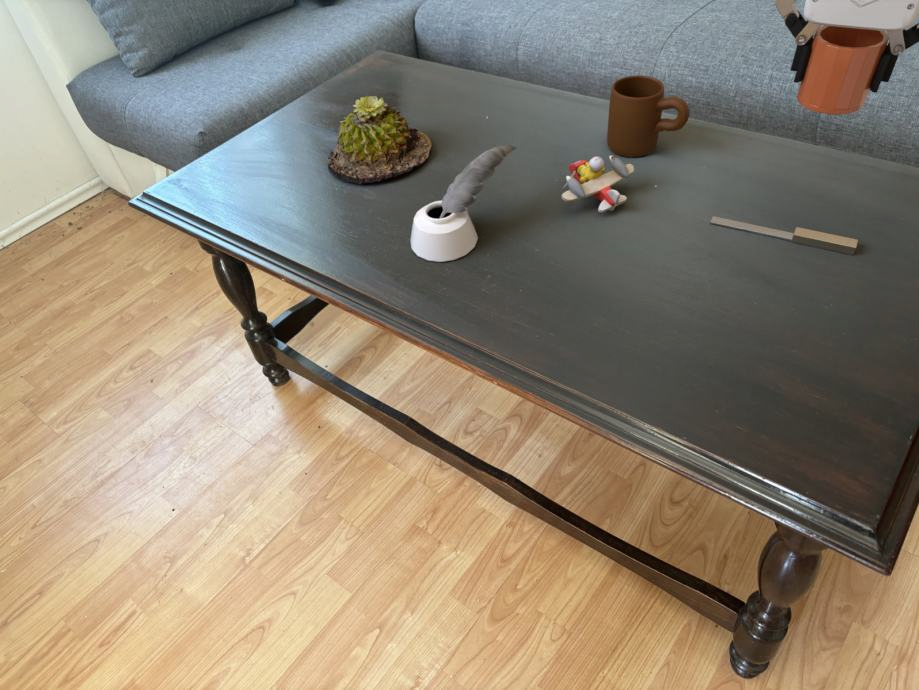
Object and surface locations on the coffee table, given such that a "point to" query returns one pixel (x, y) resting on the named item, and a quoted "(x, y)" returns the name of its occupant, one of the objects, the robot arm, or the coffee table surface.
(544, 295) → the coffee table surface
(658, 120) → the mug
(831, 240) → the knife
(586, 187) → the toy airplane
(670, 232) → the coffee table surface
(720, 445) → the coffee table surface
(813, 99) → the pot
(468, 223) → the inkwell
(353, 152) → the cactus
